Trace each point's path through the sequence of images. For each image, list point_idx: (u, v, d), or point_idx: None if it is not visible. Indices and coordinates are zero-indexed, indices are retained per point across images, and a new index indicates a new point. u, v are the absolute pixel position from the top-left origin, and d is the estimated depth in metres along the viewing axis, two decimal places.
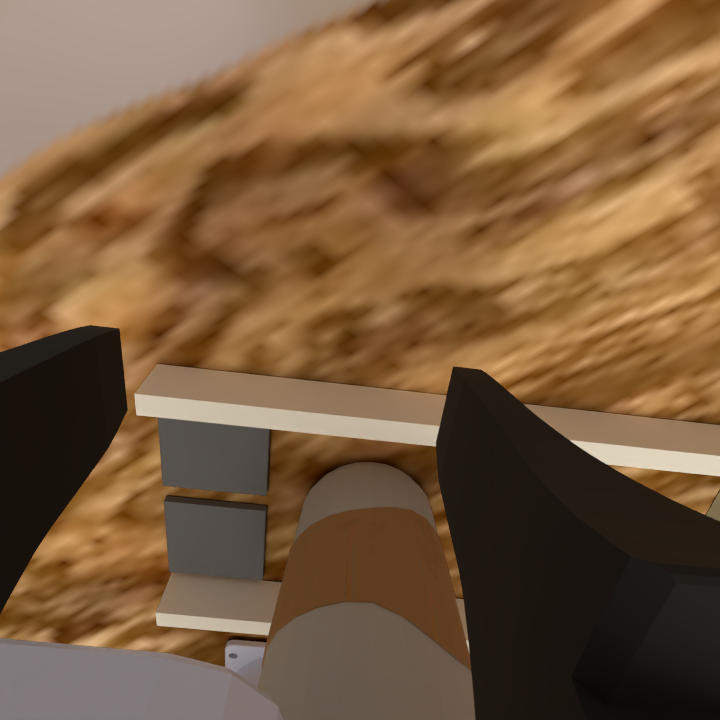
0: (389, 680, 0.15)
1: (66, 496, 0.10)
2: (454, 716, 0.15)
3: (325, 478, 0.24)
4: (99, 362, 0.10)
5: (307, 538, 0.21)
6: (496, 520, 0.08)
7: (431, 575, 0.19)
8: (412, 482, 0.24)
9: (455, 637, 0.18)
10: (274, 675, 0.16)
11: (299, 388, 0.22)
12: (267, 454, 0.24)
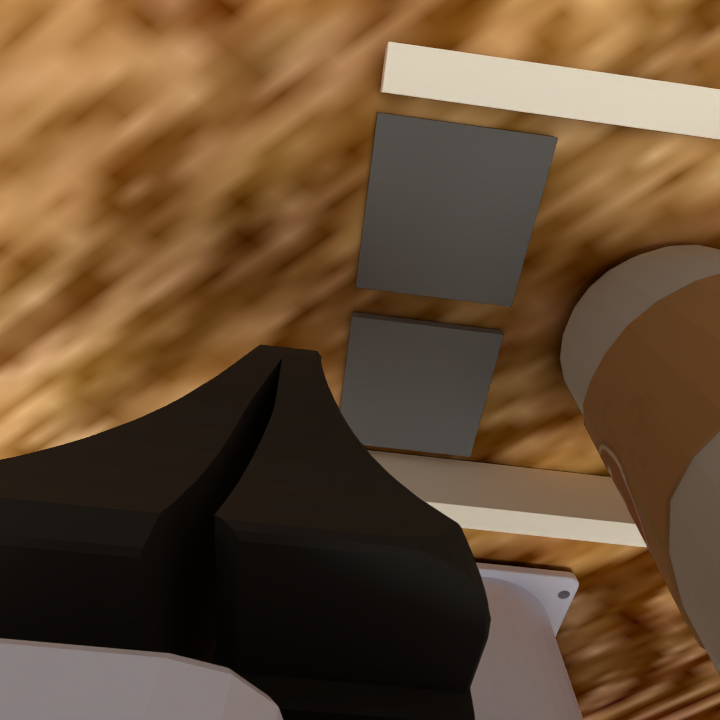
0: None
1: None
2: None
3: (620, 267, 0.16)
4: None
5: (668, 313, 0.12)
6: None
7: None
8: None
9: None
10: None
11: None
12: (531, 228, 0.15)
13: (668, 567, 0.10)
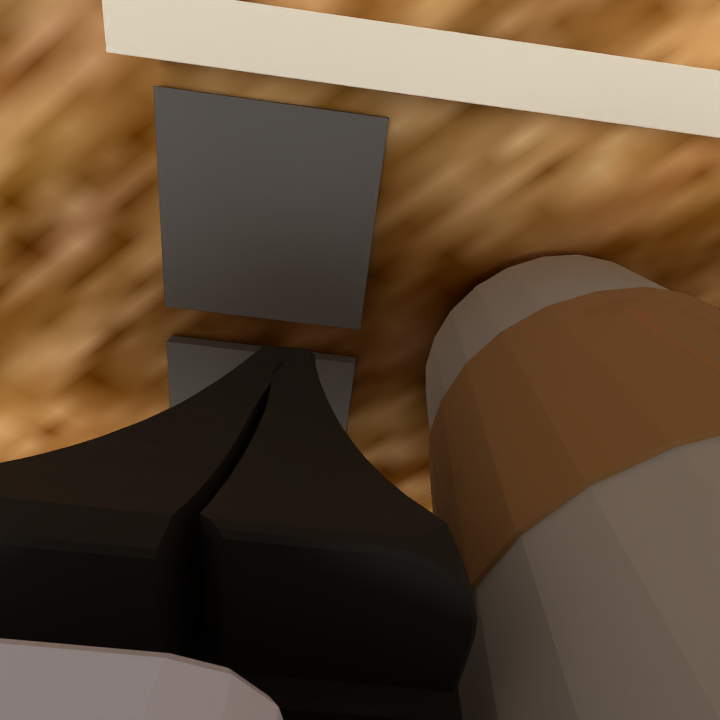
0: None
1: None
2: None
3: (485, 283, 0.12)
4: None
5: (504, 351, 0.09)
6: None
7: None
8: None
9: None
10: (613, 663, 0.04)
11: None
12: (371, 233, 0.12)
13: None
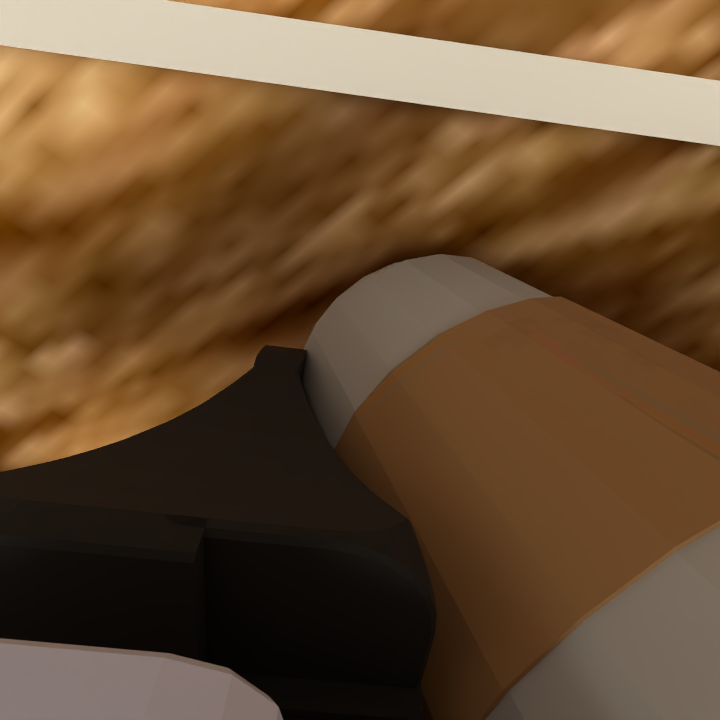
0: None
1: None
2: None
3: (347, 297, 0.11)
4: None
5: (403, 400, 0.08)
6: None
7: None
8: None
9: None
10: None
11: None
12: None
13: None
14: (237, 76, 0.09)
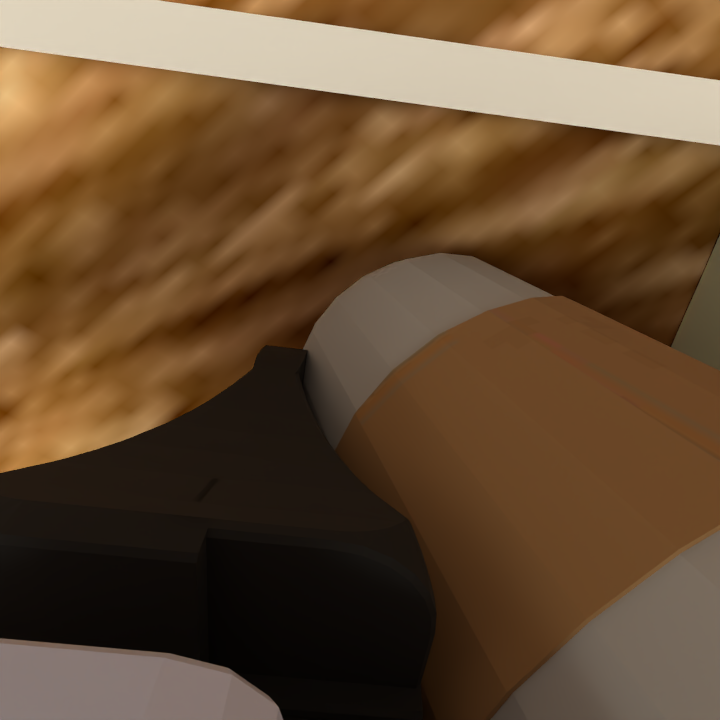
0: None
1: None
2: None
3: (348, 296, 0.11)
4: (300, 384, 0.10)
5: (404, 400, 0.08)
6: None
7: None
8: None
9: None
10: None
11: None
12: None
13: None
14: (139, 64, 0.09)
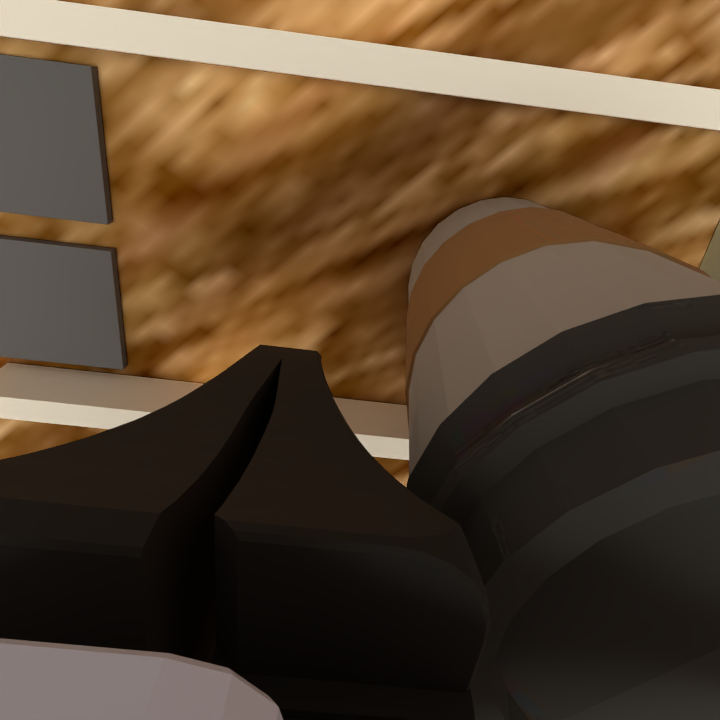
0: (682, 275, 0.08)
1: None
2: None
3: (443, 221, 0.18)
4: None
5: (443, 250, 0.15)
6: None
7: None
8: None
9: None
10: (455, 335, 0.10)
11: None
12: (99, 150, 0.18)
13: None
14: (374, 83, 0.15)
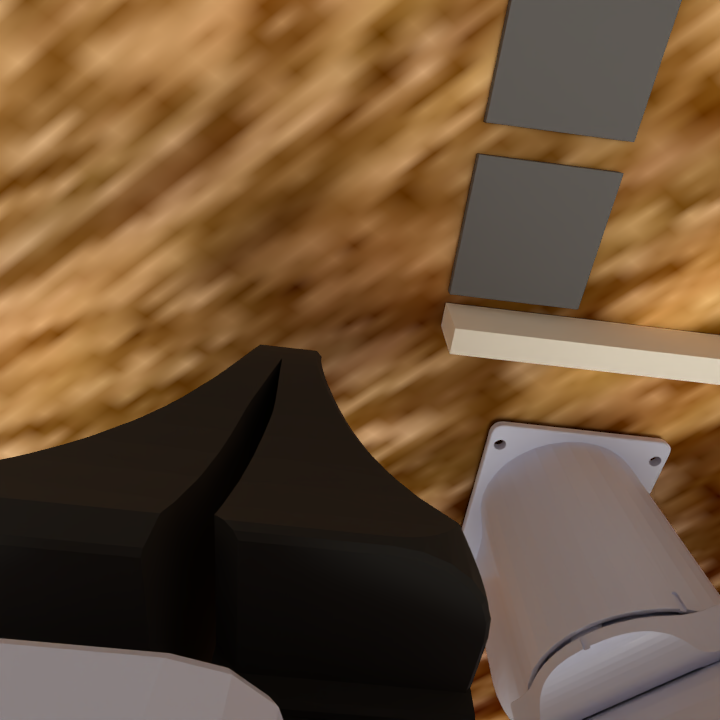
0: None
1: None
2: None
3: None
4: None
5: None
6: None
7: None
8: None
9: None
10: None
11: None
12: (661, 55, 0.16)
13: None
14: None
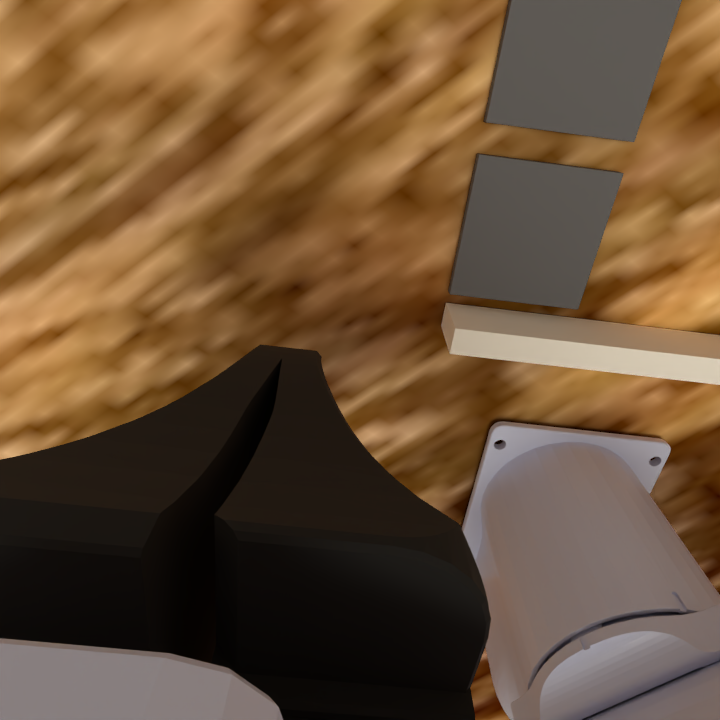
0: None
1: None
2: None
3: None
4: None
5: None
6: None
7: None
8: None
9: None
10: None
11: None
12: (661, 55, 0.16)
13: None
14: None
